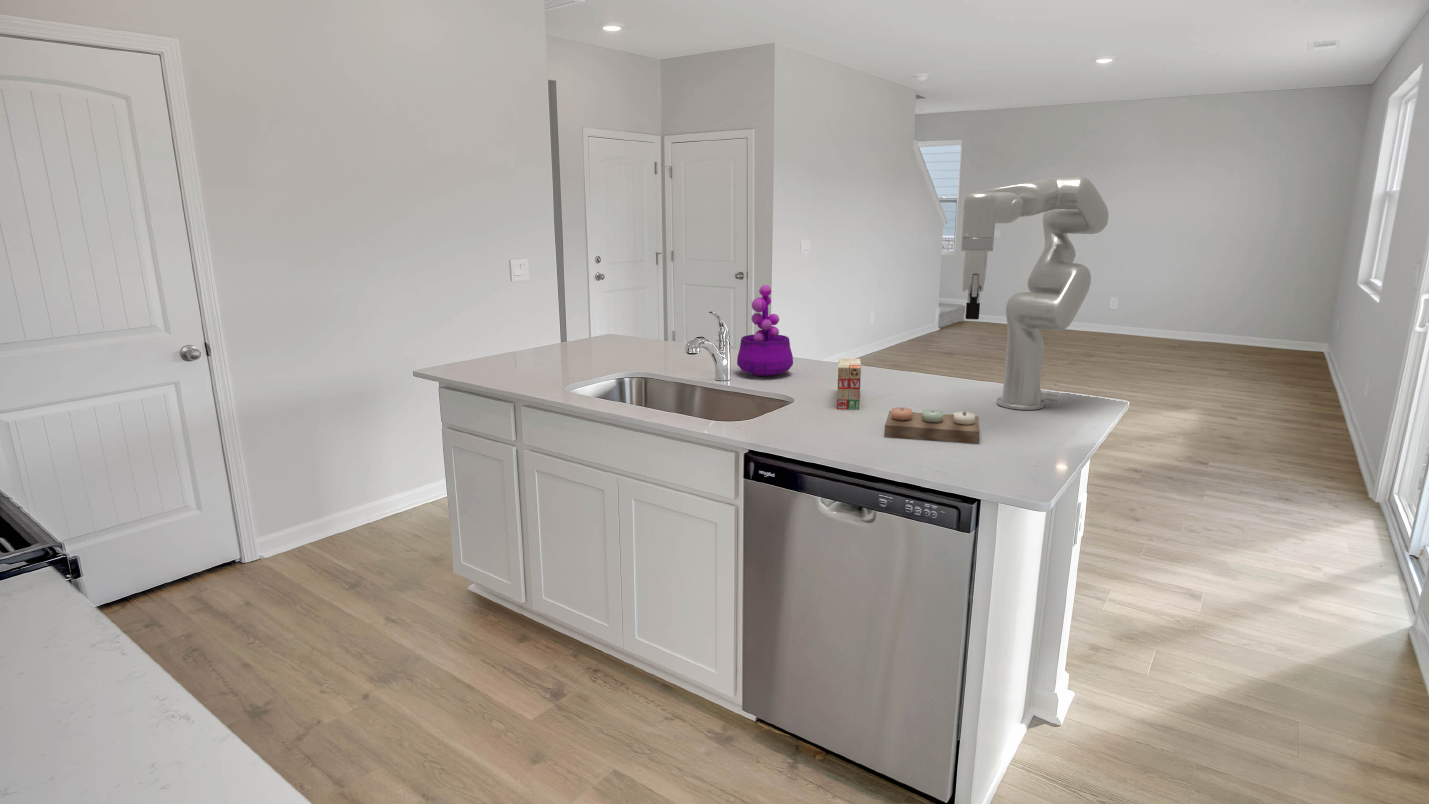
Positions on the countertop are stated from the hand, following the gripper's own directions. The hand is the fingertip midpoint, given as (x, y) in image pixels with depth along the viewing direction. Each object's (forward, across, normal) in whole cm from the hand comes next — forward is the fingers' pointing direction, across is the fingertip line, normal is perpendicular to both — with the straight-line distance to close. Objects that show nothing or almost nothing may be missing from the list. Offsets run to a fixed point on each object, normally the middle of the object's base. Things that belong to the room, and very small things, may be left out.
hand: (972, 318), depth 197 cm
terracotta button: (+24, +12, -15) cm, 31 cm away
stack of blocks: (+28, -16, -32) cm, 45 cm away
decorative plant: (+27, -44, -64) cm, 82 cm away
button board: (+27, +12, -8) cm, 31 cm away
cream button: (+24, +12, 0) cm, 27 cm away
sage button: (+24, +12, -8) cm, 28 cm away
